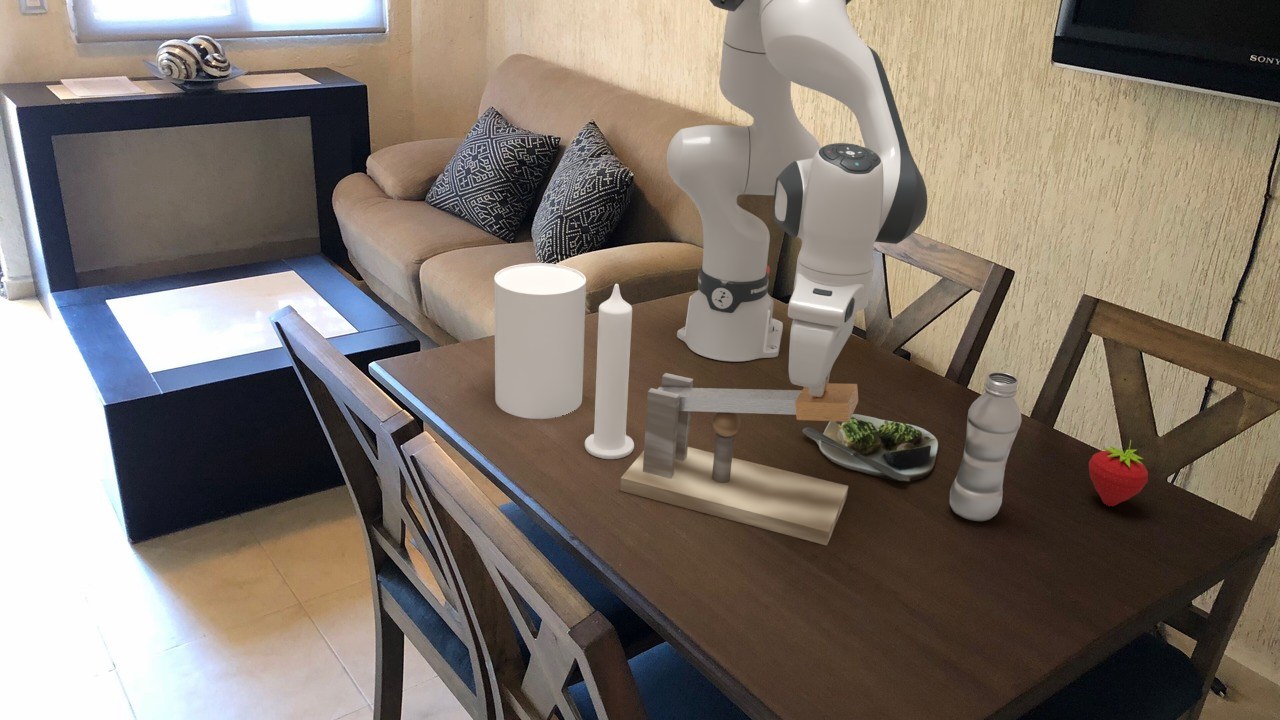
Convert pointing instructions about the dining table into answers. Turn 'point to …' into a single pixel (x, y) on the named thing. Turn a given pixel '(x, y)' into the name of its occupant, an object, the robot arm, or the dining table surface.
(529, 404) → the canister
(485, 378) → the dining table surface
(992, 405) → the plastic bottle
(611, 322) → the candle
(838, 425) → the salad plate
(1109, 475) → the strawberry
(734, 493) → the press base
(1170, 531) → the dining table surface
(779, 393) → the press lever
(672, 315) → the dining table surface
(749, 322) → the robot arm
